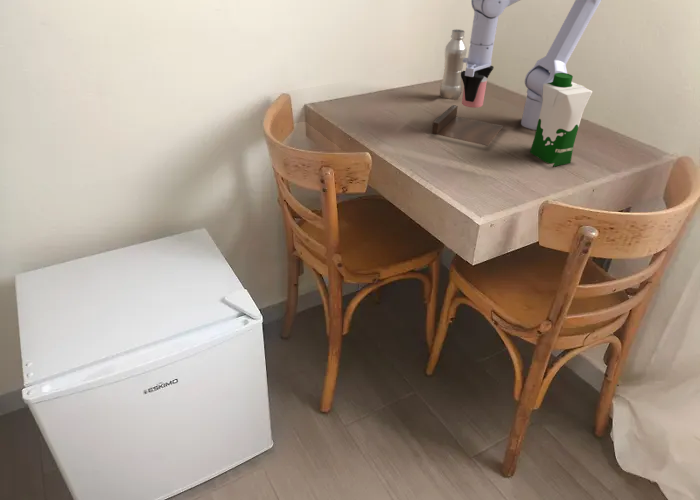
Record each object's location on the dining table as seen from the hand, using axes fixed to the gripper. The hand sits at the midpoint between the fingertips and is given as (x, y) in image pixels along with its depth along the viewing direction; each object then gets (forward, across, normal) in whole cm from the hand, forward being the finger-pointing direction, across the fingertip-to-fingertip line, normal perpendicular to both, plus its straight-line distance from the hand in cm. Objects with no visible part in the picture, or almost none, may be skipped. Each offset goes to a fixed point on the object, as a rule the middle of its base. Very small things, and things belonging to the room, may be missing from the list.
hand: (473, 97), depth 138 cm
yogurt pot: (+2, 0, 0) cm, 2 cm away
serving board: (+10, 0, 0) cm, 10 cm away
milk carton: (+10, +5, +22) cm, 25 cm away
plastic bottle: (+10, -23, -13) cm, 29 cm away
